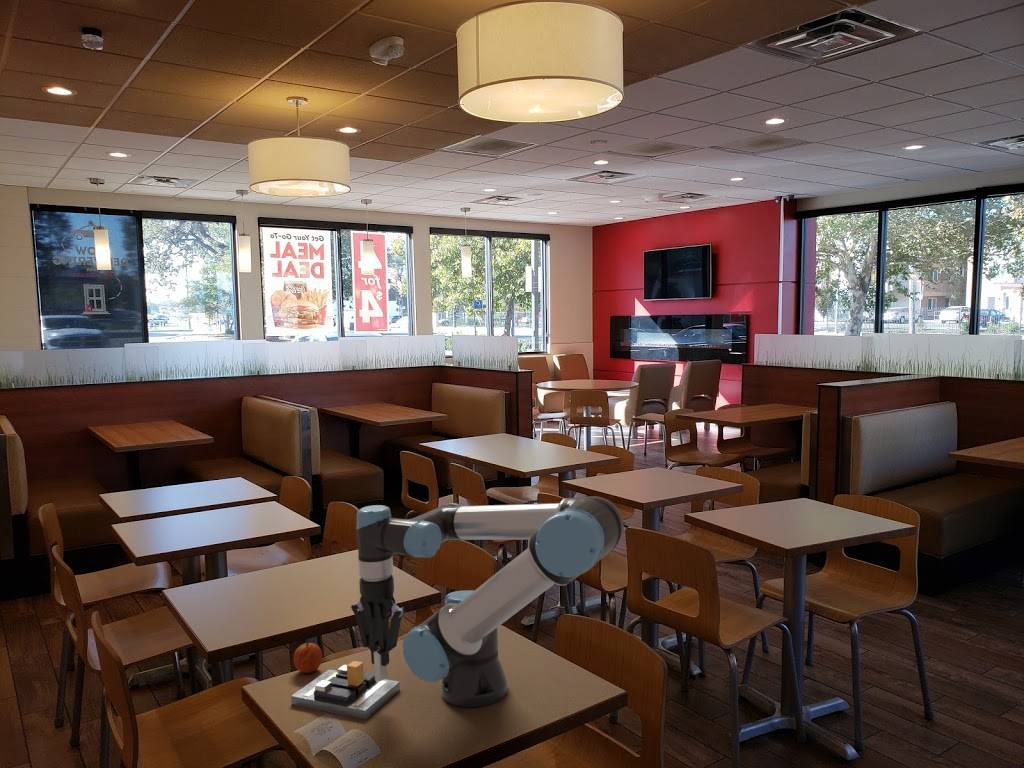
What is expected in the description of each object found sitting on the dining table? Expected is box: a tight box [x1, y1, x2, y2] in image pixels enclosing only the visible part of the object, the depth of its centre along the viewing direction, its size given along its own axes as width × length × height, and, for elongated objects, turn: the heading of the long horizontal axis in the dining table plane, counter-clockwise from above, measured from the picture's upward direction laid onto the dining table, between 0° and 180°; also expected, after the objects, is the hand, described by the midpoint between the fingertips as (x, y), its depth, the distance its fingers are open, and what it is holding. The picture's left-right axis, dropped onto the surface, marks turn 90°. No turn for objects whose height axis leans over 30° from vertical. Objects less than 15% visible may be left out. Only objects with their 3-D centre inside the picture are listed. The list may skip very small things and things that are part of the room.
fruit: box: [293, 640, 323, 674], centre depth 187 cm, size 7×7×8 cm
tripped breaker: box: [346, 660, 364, 686], centre depth 171 cm, size 3×3×4 cm
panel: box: [290, 664, 401, 720], centre depth 173 cm, size 20×14×5 cm
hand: (381, 678), depth 169 cm, fingers closed
